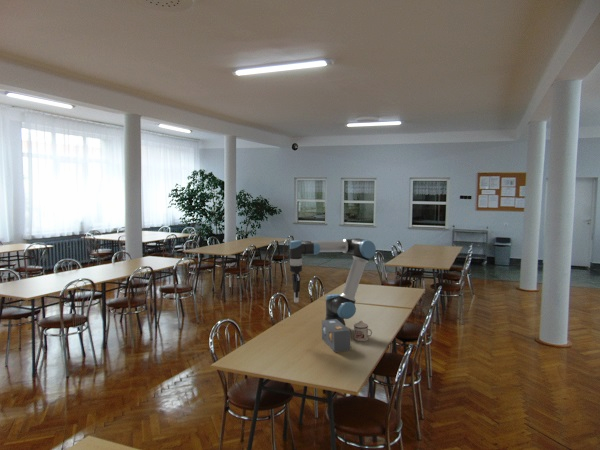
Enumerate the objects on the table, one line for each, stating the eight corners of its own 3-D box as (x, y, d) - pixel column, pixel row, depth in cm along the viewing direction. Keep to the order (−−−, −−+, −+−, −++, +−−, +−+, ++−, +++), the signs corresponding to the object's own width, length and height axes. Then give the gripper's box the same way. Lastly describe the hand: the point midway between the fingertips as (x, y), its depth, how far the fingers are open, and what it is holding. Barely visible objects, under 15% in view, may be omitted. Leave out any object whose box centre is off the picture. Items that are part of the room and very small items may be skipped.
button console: (336, 337, 270) (336, 318, 269) (350, 350, 247) (350, 329, 246) (321, 338, 267) (321, 319, 267) (334, 352, 244) (334, 331, 243)
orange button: (335, 338, 253) (335, 331, 252) (337, 341, 248) (337, 334, 248) (329, 339, 252) (329, 332, 252) (331, 341, 248) (331, 334, 247)
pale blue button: (328, 332, 264) (328, 325, 264) (331, 334, 260) (330, 327, 260) (323, 333, 263) (323, 326, 263) (325, 335, 259) (325, 328, 259)
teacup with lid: (351, 340, 264) (351, 321, 264) (357, 335, 272) (356, 318, 272) (369, 343, 258) (369, 324, 258) (374, 338, 266) (374, 320, 266)
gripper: (287, 263, 268) (288, 300, 270) (292, 267, 256) (293, 305, 257) (299, 263, 270) (299, 299, 272) (304, 266, 258) (304, 304, 259)
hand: (296, 302), depth 264 cm, fingers closed
